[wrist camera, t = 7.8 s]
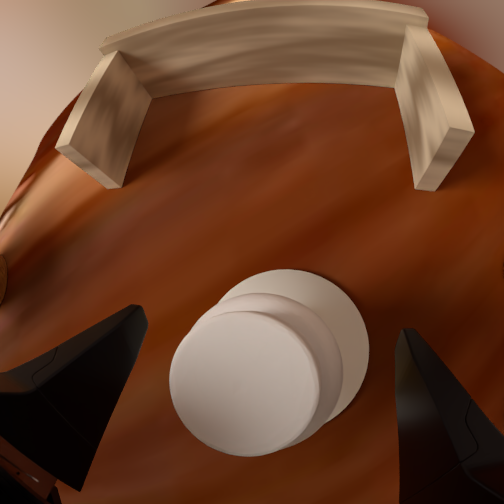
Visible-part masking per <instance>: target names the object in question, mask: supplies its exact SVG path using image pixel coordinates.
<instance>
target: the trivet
mask: <svg viewBox="0 0 504 504" xmlns="http://www.w3.org/2000/svg"><path fill="white" fill-rule="evenodd" d="M250 293H270V294H277V295H281V296H285V297H288V298H291V299H293V300H295V301H298V302H299V303H301V304H303V305H305V306H306V307H308V308H309V309H311V310H312V311H313V312H314V313H316V314H317V315H318V316H319V317H320V318H321V319H322V320H323V321H324V322H325V324H326V325H327V326H328V328H329V329H330V331H331V332H332V334H333V336H334V338H335V339H336V342H337V344H338V346H339V349H340V353H341V357H342V363H343V383H342V389H341V393H340V396H339V399H338V402H337V404H336V406H335V408H334V410H333V412H332V414H331V415H330V417H329V418H328V419H327V421H326V422H328V421H330V420H331V419H332V418H334V417H335V416H337V415H338V414H339V413H340V412H341V411H342V410H343V409H345V408H346V407H347V405H348V404H349V403H350V402H351V401H352V399H353V398H354V397H355V395H356V393H357V392H358V390H359V389H360V386H361V384H362V382H363V380H364V377H365V374H366V370H367V366H368V359H369V342H368V334H367V331H366V327H365V324H364V321H363V319H362V317H361V314H360V313H359V311H358V309H357V308H356V306H355V304H354V303H353V302H352V301H351V299H350V298H349V297H348V296H347V295H346V294H345V293H344V292H343V291H342V290H341V289H340V288H338V287H337V286H336V285H334V284H333V283H331V282H330V281H328V280H326V279H324V278H322V277H320V276H318V275H315V274H312V273H309V272H304V271H300V270H290V269H287V270H273V271H267V272H264V273H260V274H257V275H255V276H252V277H250V278H248V279H246V280H244V281H242V282H241V283H239V284H237V285H236V286H235V287H234V288H232V289H231V290H230V291H229V292H228V293H227V294H226V295H225V296H224V297H223V298H222V299H221V300H220V301H219V303H221V302H223V301H225V300H227V299H230V298H232V297H235V296H239V295H243V294H250ZM219 303H218V304H219ZM326 422H325V423H326Z"/></svg>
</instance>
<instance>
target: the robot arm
mask: <svg viewBox="0 0 504 504" xmlns="http://www.w3.org/2000/svg"><path fill="white" fill-rule="evenodd" d="M147 329H148V321H147V318H146V315H145V313H144V310H143V308H142V306H140V305H134V304H131V305H129V306H127V307H126V308H124V309H122V310H120V311H118V312H117V313H115V314H113V315H111V316H109V317H108V318H106V319H104V320H102V321H101V322H99V323H97V324H95V325H94V326H92V327H90V328H88V329H86V330H85V331H83V332H81V333H79V334H78V335H76V336H74V337H72V338H71V339H69V340H67V341H65V342H64V343H62V344H60V345H59V346H57V347H55V348H53V349H51V350H50V351H48V352H46V353H44V354H42V355H41V356H39V357H36V358H34V359H32V360H30V361H28V362H26V363H24V364H22V365H20V366H18V367H16V368H14V369H12V370H9V371H7V372H2V373H0V504H62V503H61V500H60V496H59V493H58V489H57V487H56V486H54V485H55V483H56V481H57V479H59V480H60V481H62V482H63V483H65V484H67V485H68V486H70V487H72V488H73V489H75V490H77V491H78V492H80V491H81V489H82V487H83V484H84V481H85V479H86V476H87V474H88V471H89V468H90V466H91V463H92V461H93V458H94V456H95V453H96V451H97V448H98V446H99V443H100V441H101V438H102V436H103V434H104V431H105V429H106V427H107V424H108V422H109V420H110V417H111V415H112V413H113V410H114V408H115V406H116V404H117V401H118V399H119V397H120V395H121V392H122V390H123V388H124V386H125V384H126V381H127V379H128V377H129V375H130V373H131V371H132V369H133V366H134V364H135V362H136V359H137V357H138V354H139V351H140V348H141V345H142V343H143V340H144V337H145V334H146V331H147ZM395 397H396V408H397V421H398V437H399V464H400V491H399V504H504V436H503V435H502V433H501V432H500V431H499V430H498V429H497V428H496V427H495V426H494V425H493V423H492V422H491V421H490V420H489V419H488V418H487V417H486V415H485V414H484V413H483V412H482V410H481V409H480V408H479V407H478V405H477V404H476V403H475V401H474V400H473V399H471V396H470V395H469V394H468V393H467V391H466V390H465V389H464V387H463V386H462V385H461V384H460V382H459V381H458V380H457V379H456V377H455V376H454V375H453V374H452V372H451V371H450V370H449V369H448V368H447V366H446V365H445V364H444V363H443V362H442V360H441V359H440V358H439V357H438V356H437V354H436V353H435V352H434V351H433V350H432V348H431V347H430V346H429V345H428V344H427V343H426V341H425V340H424V339H423V338H422V337H421V336H420V335H419V333H418V332H417V331H416V330H415V329H413V328H404V329H402V330H401V332H400V335H399V338H398V341H397V344H396V347H395Z"/></svg>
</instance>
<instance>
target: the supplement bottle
mask: <svg viewBox="0 0 504 504" xmlns="http://www.w3.org/2000/svg"><path fill="white" fill-rule="evenodd" d="M169 383H170V392H171V397H172V401H173V404H174V407H175V409H176V411H177V413H178V415H179V417H180V419H181V420H182V422H183V423H184V425H185V426H186V427H187V428H188V430H189V431H190V432H191V433H192V434H193V435H194V436H195V437H197V438H198V439H199V440H200V441H202V442H203V443H205V444H206V445H208V446H209V447H211V448H213V449H215V450H218V451H221V452H224V453H227V454H230V455H236V456H261V455H265V454H269V453H273V452H275V451H278V450H280V449H284V448H287V447H290V446H293V445H295V444H297V443H299V442H301V441H303V440H305V439H306V438H308V437H310V436H311V435H312V434H313V433H315V432H316V431H317V430H318V429H319V428H320V427H321V426H322V425H323V424H324V423H325V422H326V421H327V419H328V418H329V417H330V415H331V414H332V412H333V410H334V408H335V406H336V404H337V402H338V399H339V396H340V393H341V389H342V383H343V363H342V357H341V353H340V349H339V346H338V344H337V342H336V339H335V338H334V336H333V334H332V332H331V331H330V329H329V328H328V326H327V325H326V324H325V322H324V321H323V320H322V319H321V318H320V317H319V316H318V315H317V314H316V313H314V312H313V311H312V310H311V309H309V308H308V307H306V306H305V305H303V304H301V303H299V302H298V301H295V300H293V299H291V298H288V297H285V296H281V295H277V294H270V293H250V294H243V295H239V296H235V297H232V298H230V299H227V300H225V301H223V302H221V303H219V304H217V305H216V306H214V307H213V308H211V309H210V310H209V311H207V312H206V313H205V314H204V315H203V316H202V317H201V318H200V319H199V320H198V321H197V322H196V324H195V325H194V326H193V327H192V329H191V330H190V332H189V333H188V334H187V335H186V337H185V338H184V339H183V340H182V342H181V343H180V345H179V347H178V348H177V350H176V352H175V355H174V357H173V360H172V364H171V369H170V379H169Z"/></svg>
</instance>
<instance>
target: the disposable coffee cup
mask: <svg viewBox="0 0 504 504" xmlns="http://www.w3.org/2000/svg"><path fill="white" fill-rule="evenodd" d="M6 285H7V264H6V261H5V259H4V257H3V256H1V255H0V304H1V302H2V300H3V297H4V294H5V291H6Z"/></svg>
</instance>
